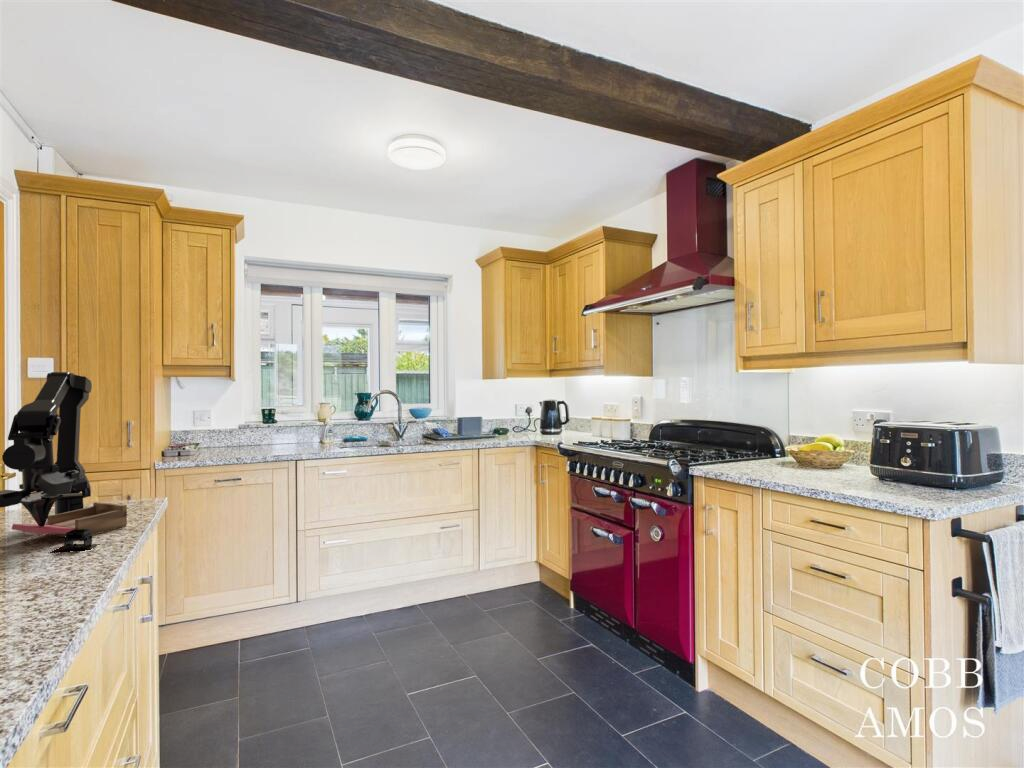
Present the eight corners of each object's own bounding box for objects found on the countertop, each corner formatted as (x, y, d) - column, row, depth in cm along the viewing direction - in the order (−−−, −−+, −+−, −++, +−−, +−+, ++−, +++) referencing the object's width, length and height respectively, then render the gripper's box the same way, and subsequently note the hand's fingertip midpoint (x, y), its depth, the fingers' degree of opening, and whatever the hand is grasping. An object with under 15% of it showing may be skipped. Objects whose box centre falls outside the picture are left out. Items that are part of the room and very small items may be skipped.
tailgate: (75, 528, 132) (41, 528, 126) (72, 536, 132) (39, 537, 125) (47, 524, 136) (12, 524, 129) (45, 532, 135) (10, 532, 128)
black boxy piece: (37, 557, 121) (37, 536, 121) (57, 547, 128) (57, 527, 128) (100, 554, 123) (100, 534, 123) (116, 544, 130) (117, 525, 130)
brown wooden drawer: (47, 534, 136) (47, 512, 136) (97, 522, 147) (97, 501, 147) (78, 538, 133) (78, 516, 133) (126, 525, 144) (126, 505, 144)
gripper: (14, 471, 118) (19, 542, 119) (102, 456, 136) (105, 518, 136) (-19, 469, 121) (-15, 538, 122) (70, 454, 139) (74, 514, 140)
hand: (41, 526), depth 130 cm, fingers closed, pressing on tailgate
